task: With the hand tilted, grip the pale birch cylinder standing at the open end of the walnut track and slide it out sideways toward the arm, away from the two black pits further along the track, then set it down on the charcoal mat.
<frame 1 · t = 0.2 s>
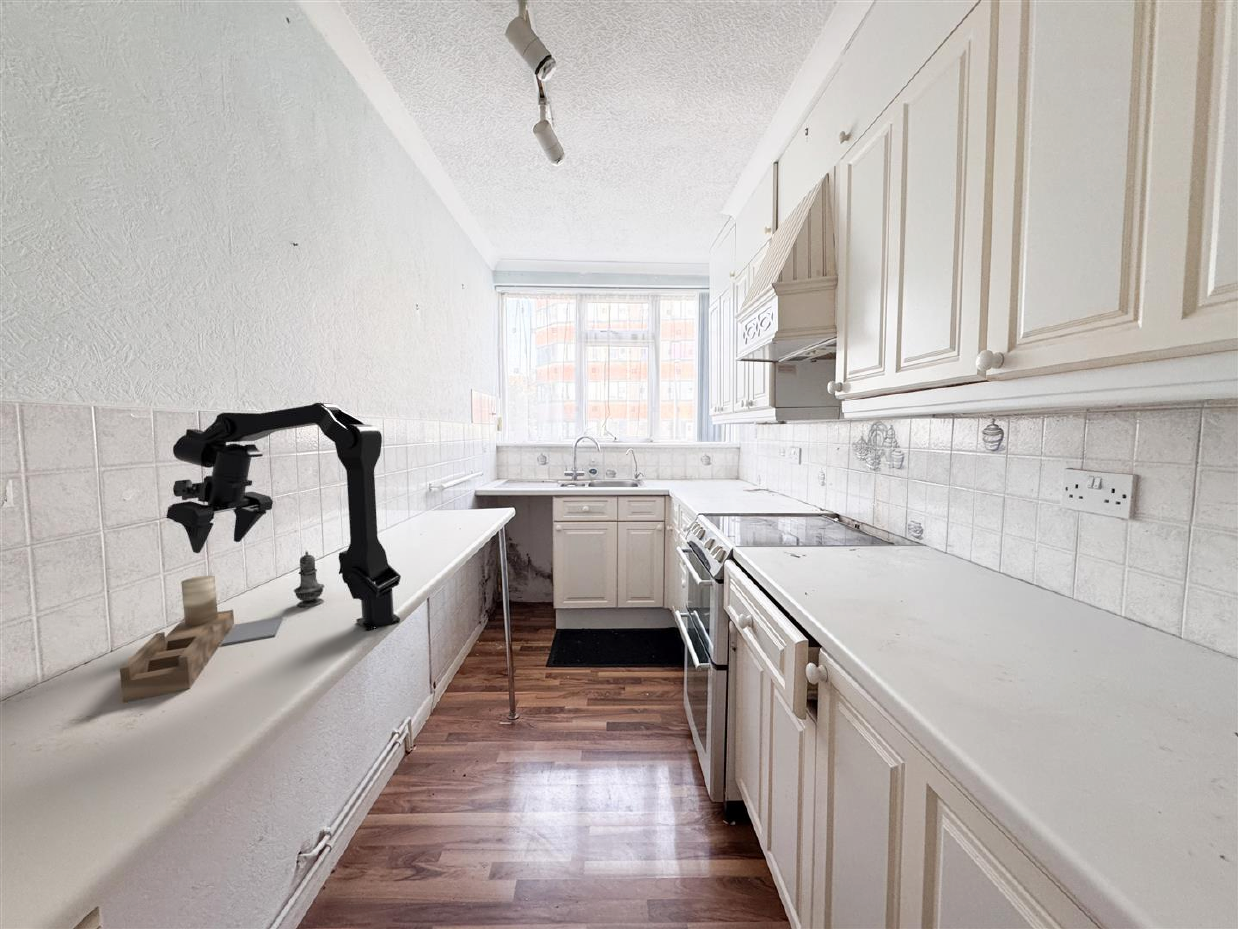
hand: (217, 546, 100), 15 cm above the table, tool tilted 15°, fingers open, 9 cm apart
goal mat: (254, 631, 95), on the table
wooden track: (203, 635, 93), on the table
salt shaker: (310, 604, 110), on the table
birch cylinder: (201, 620, 93), point 3 cm above the table, touching wooden track
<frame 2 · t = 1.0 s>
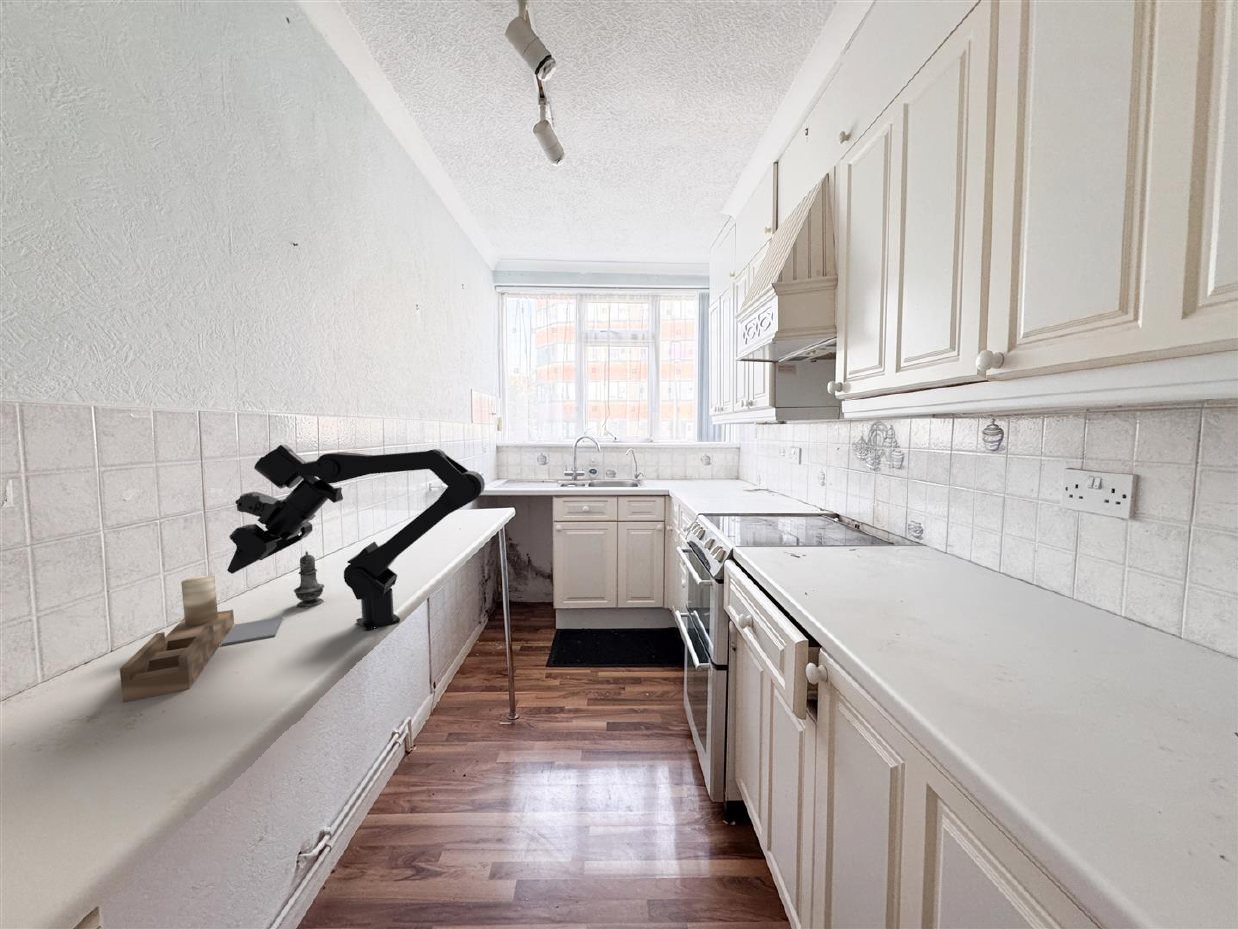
hand: (244, 565, 94), 13 cm above the table, tool tilted 45°, fingers open, 9 cm apart
nothing on the table moved.
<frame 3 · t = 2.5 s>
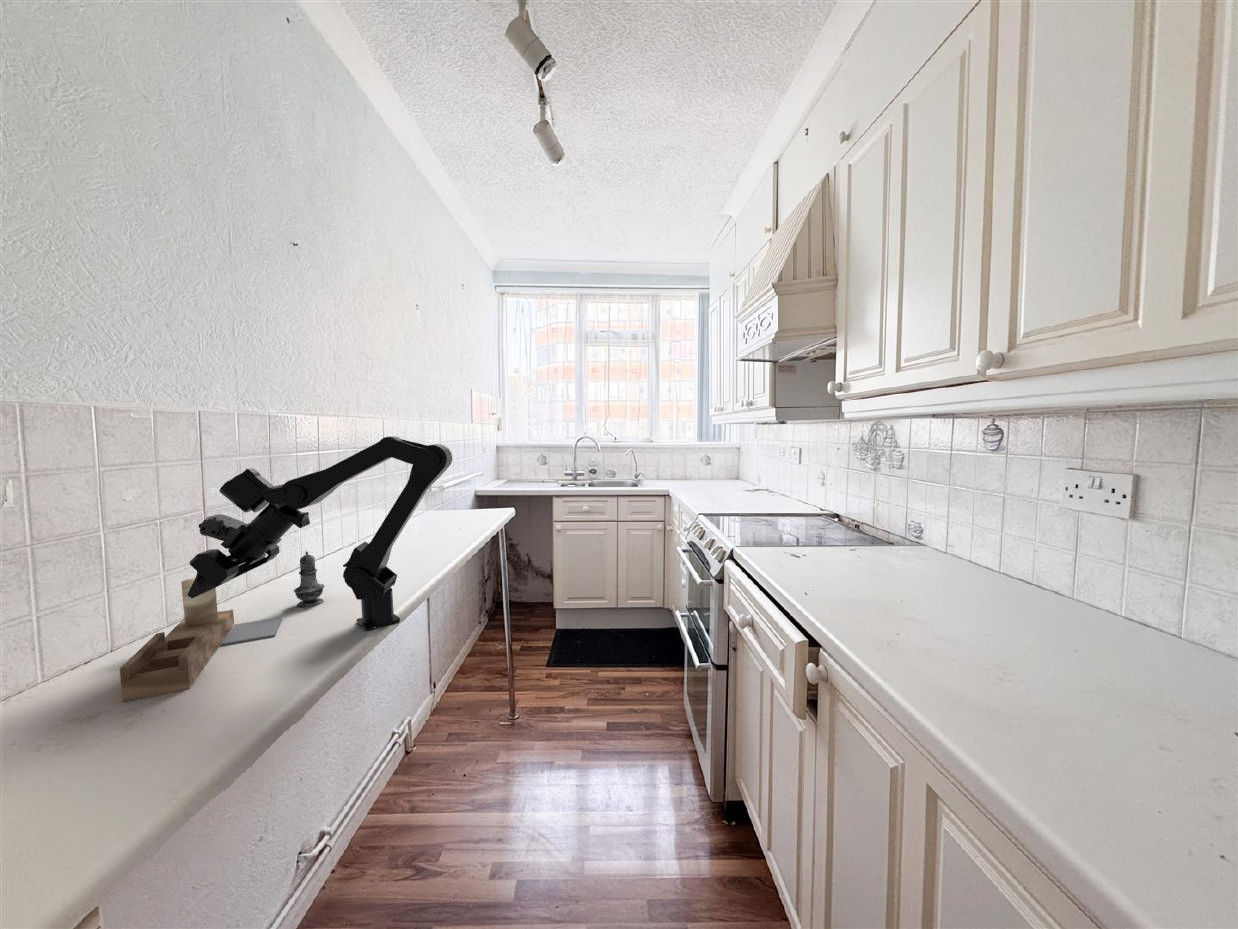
hand: (206, 588, 93), 9 cm above the table, tool tilted 45°, fingers open, 9 cm apart
nothing on the table moved.
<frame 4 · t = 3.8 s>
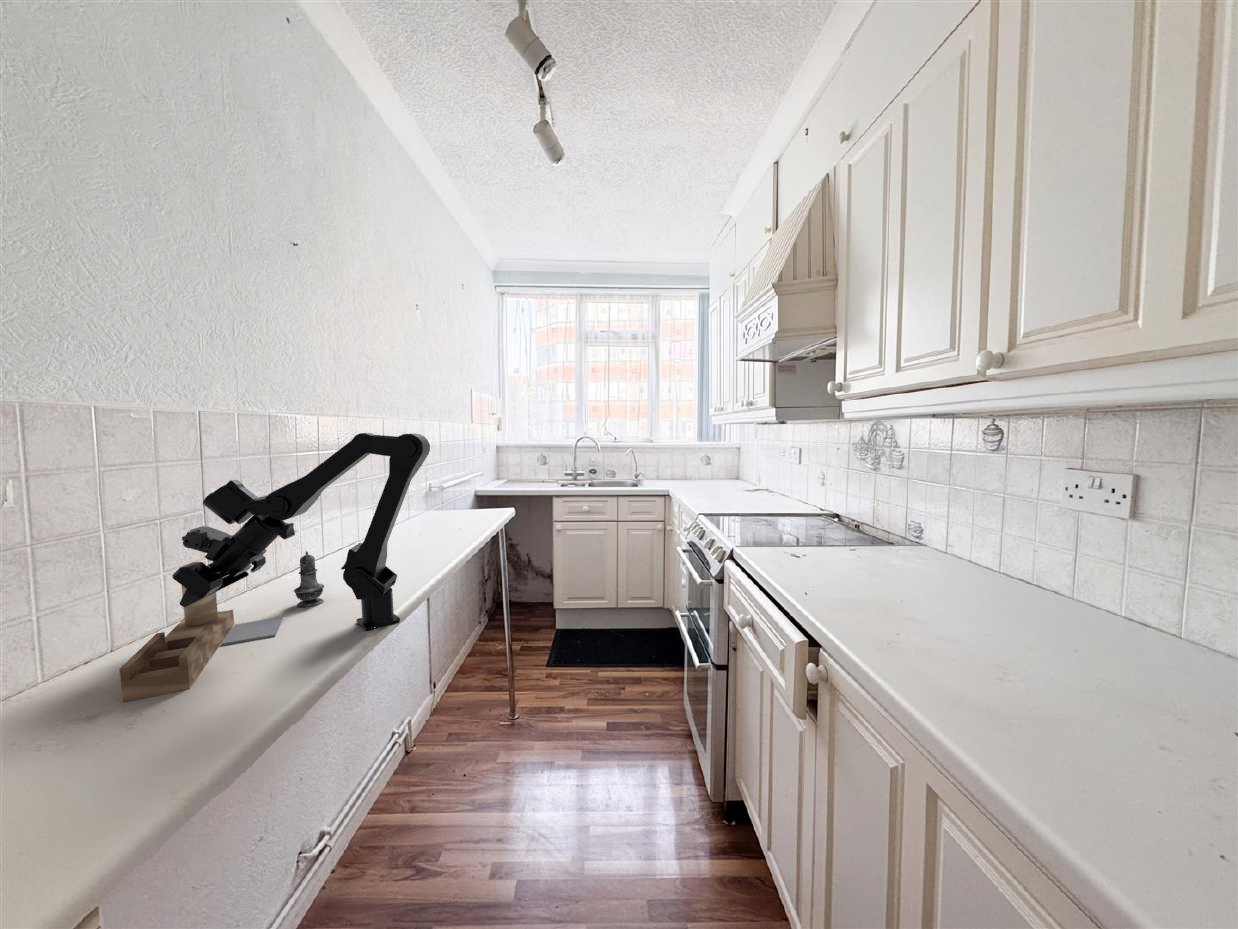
hand: (191, 600, 93), 7 cm above the table, tool tilted 45°, fingers closed on birch cylinder, 5 cm apart
birch cylinder: (201, 620, 93), point 3 cm above the table, touching gripper, wooden track
everything else where it was.
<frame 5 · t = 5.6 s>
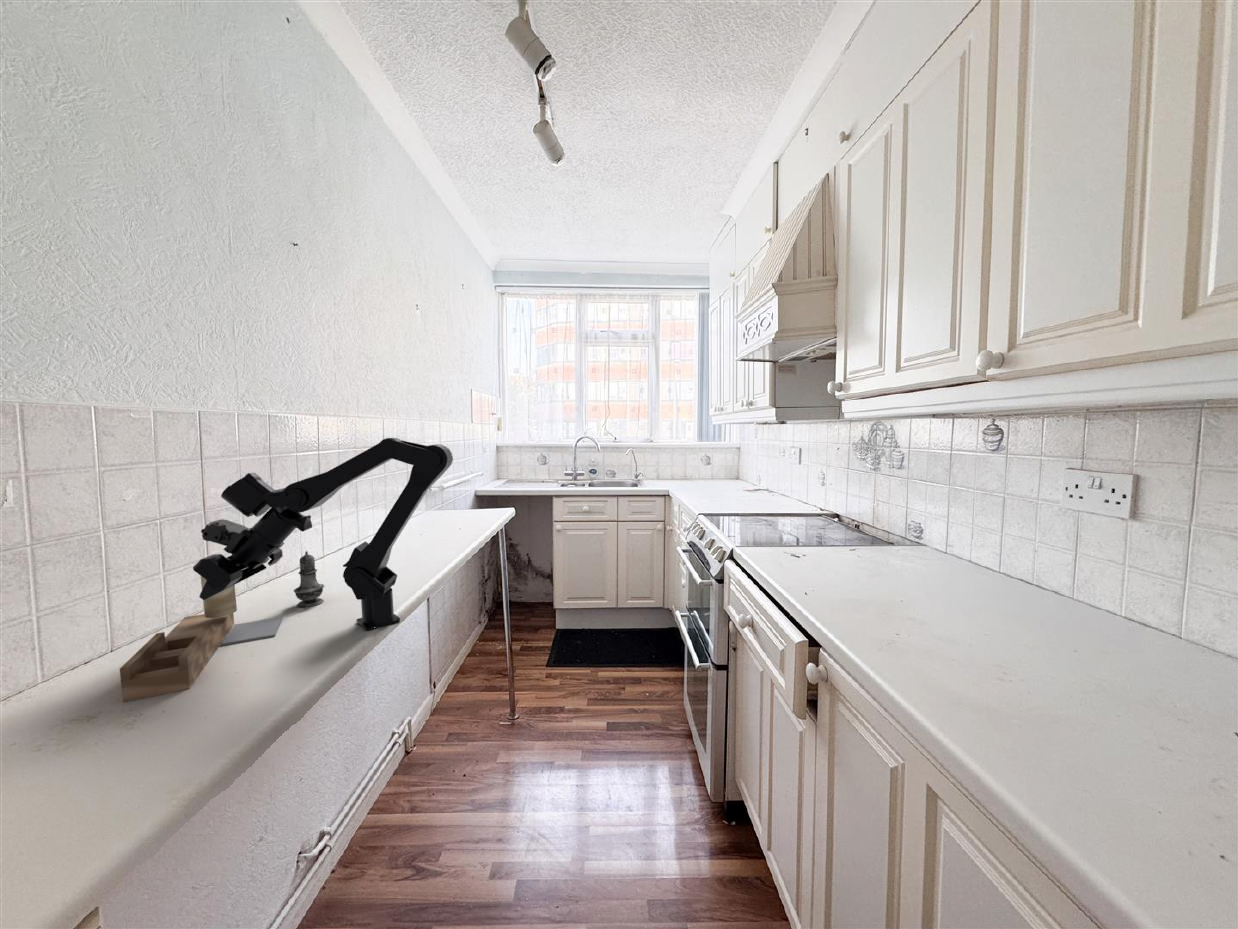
hand: (211, 593, 93), 8 cm above the table, tool tilted 45°, fingers closed on birch cylinder, 5 cm apart
birch cylinder: (221, 613, 94), point 4 cm above the table, touching gripper
everything else where it was.
when the fingers open (6 cm above the table, at t = 7.6 s): birch cylinder drops 2 cm, resting on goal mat.
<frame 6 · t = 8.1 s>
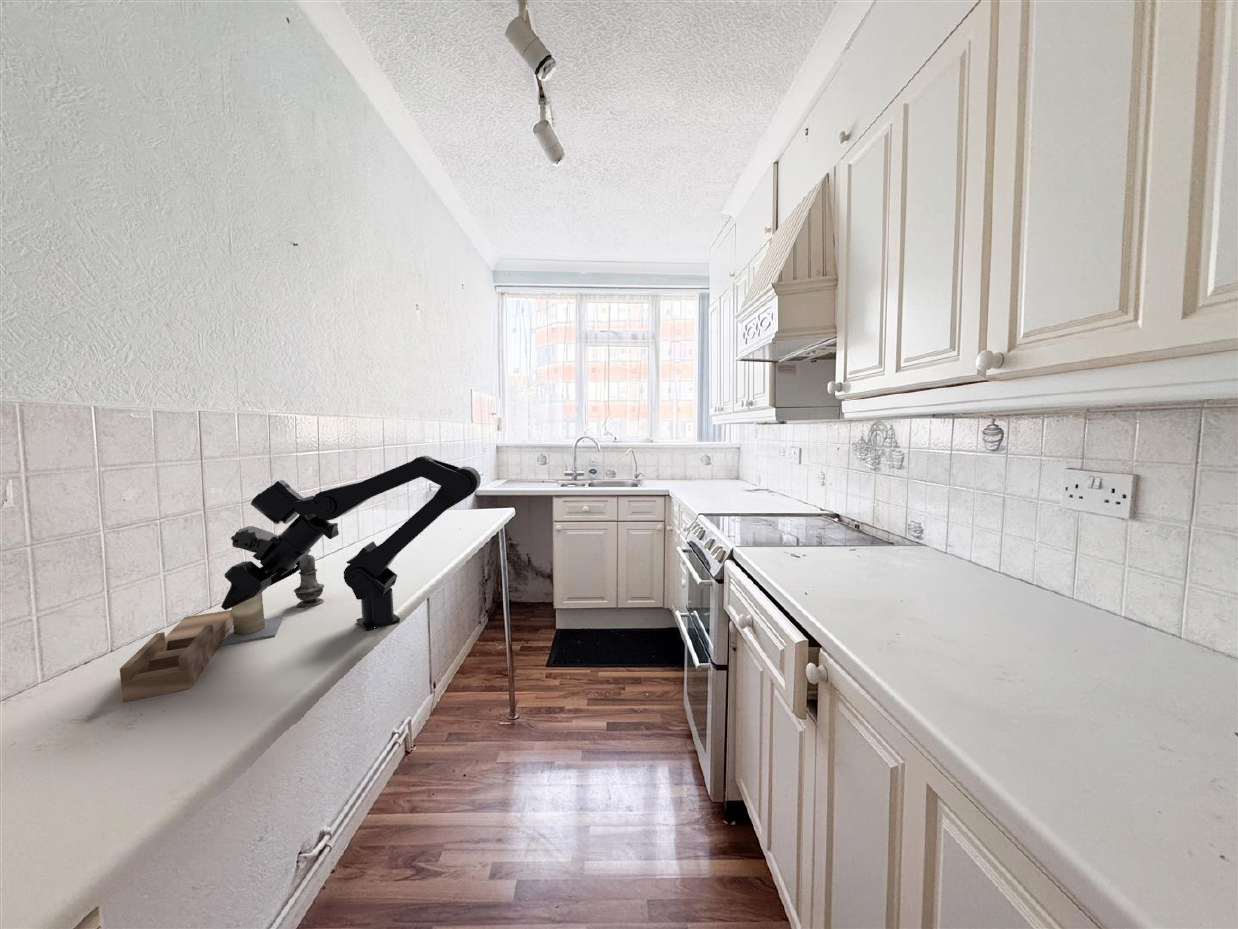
hand: (238, 599, 94), 7 cm above the table, tool tilted 45°, fingers open, 9 cm apart
birch cylinder: (249, 630, 95), resting on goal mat
everything else where it was.
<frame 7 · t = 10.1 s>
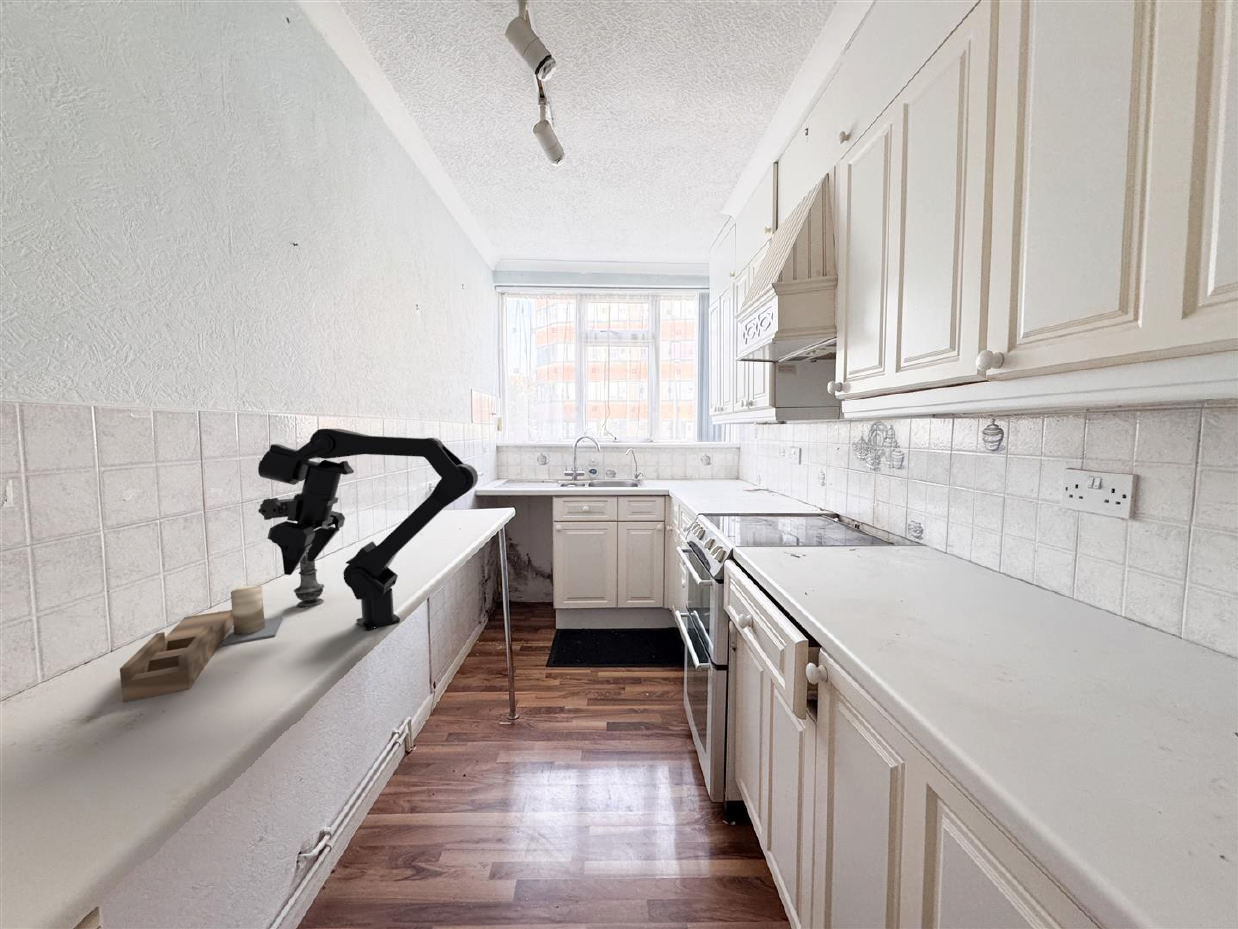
hand: (299, 567, 95), 12 cm above the table, tool tilted 15°, fingers open, 9 cm apart
nothing on the table moved.
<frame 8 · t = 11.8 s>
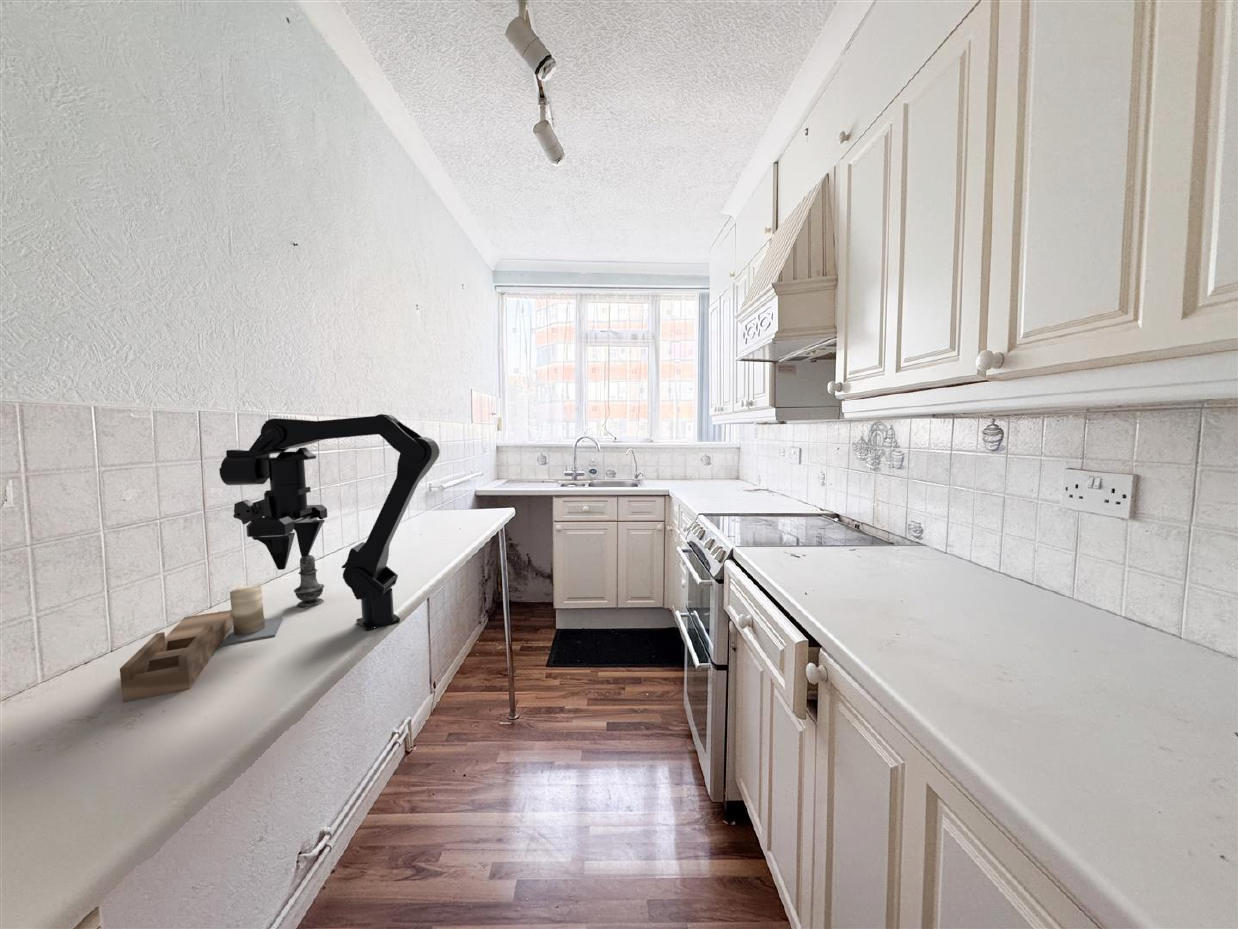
hand: (293, 562, 95), 13 cm above the table, tool pointing down, fingers open, 9 cm apart
nothing on the table moved.
at the end: birch cylinder inside the target area on the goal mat (0.7 cm from its centre), point 0.4 cm above the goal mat's base; birch cylinder tilted 1°; the gripper is holding nothing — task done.
